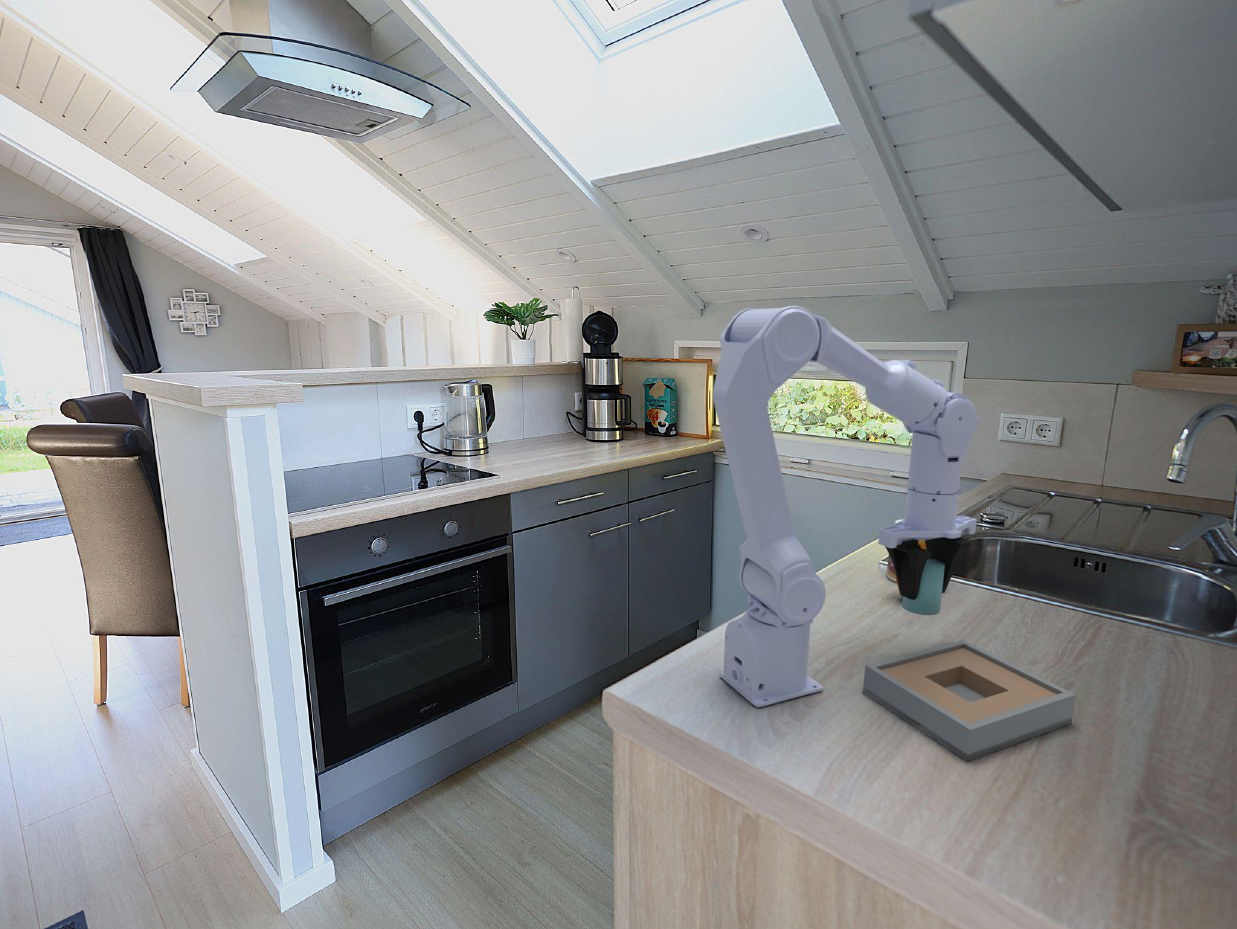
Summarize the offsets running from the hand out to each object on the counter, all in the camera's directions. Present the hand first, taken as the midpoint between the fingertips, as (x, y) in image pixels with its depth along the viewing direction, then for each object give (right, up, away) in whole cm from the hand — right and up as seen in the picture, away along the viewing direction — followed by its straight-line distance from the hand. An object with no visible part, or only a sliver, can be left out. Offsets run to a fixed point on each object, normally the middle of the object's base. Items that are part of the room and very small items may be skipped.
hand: (922, 593), depth 85 cm
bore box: (0, -11, -10) cm, 15 cm away
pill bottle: (+10, -3, +29) cm, 31 cm away
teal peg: (0, -2, 0) cm, 2 cm away
